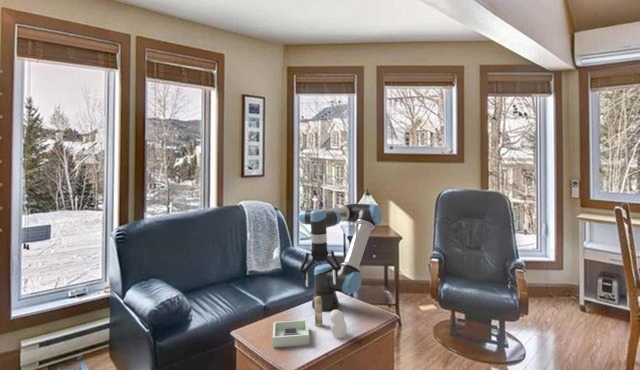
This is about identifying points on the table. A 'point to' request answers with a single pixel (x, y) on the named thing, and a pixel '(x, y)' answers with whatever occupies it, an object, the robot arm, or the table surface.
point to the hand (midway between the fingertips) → (320, 284)
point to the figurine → (337, 324)
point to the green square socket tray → (290, 333)
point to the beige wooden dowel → (318, 311)
